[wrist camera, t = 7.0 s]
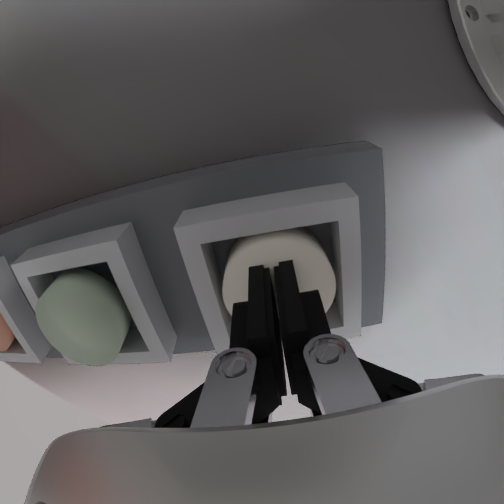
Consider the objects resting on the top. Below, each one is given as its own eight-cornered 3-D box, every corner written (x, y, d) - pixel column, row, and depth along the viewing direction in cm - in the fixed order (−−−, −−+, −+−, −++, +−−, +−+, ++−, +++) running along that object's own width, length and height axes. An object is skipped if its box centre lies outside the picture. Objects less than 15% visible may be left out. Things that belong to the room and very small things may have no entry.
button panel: (365, 140, 13) (400, 157, 10) (371, 300, 17) (392, 346, 14) (-44, 246, 16) (-74, 271, 12) (6, 339, 20) (-15, 370, 17)
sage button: (109, 261, 13) (92, 284, 11) (144, 339, 15) (135, 365, 13) (39, 275, 13) (20, 295, 11) (77, 342, 15) (64, 365, 13)
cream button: (322, 213, 13) (332, 231, 11) (330, 300, 15) (337, 325, 13) (214, 231, 13) (209, 252, 11) (237, 315, 15) (236, 341, 13)
